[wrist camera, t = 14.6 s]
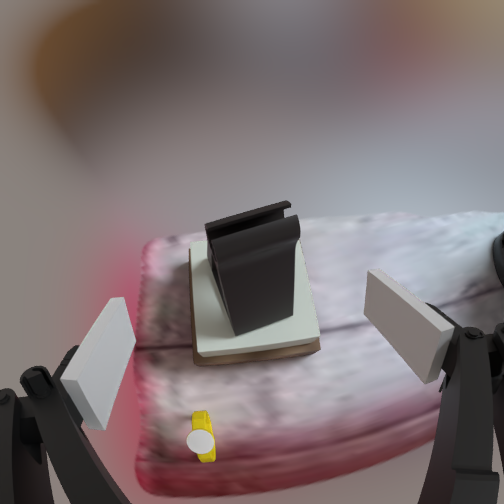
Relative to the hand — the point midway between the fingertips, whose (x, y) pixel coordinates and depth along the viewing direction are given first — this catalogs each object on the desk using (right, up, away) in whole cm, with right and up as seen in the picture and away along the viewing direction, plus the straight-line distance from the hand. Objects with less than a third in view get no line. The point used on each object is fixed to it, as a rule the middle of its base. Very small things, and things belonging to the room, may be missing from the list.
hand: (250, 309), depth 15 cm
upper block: (0, -2, +18) cm, 19 cm away
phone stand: (0, -1, +15) cm, 15 cm away
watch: (-5, -18, +14) cm, 24 cm away
